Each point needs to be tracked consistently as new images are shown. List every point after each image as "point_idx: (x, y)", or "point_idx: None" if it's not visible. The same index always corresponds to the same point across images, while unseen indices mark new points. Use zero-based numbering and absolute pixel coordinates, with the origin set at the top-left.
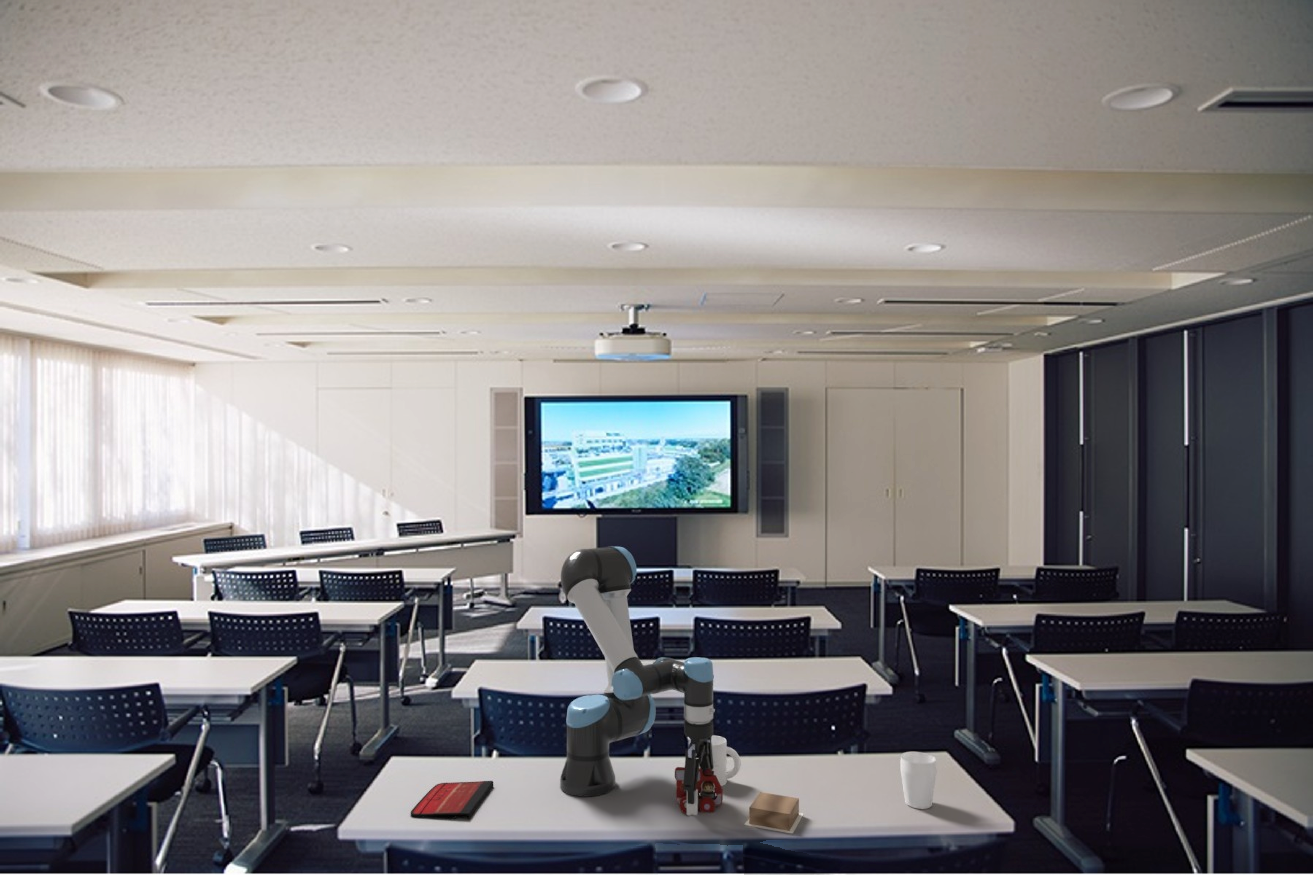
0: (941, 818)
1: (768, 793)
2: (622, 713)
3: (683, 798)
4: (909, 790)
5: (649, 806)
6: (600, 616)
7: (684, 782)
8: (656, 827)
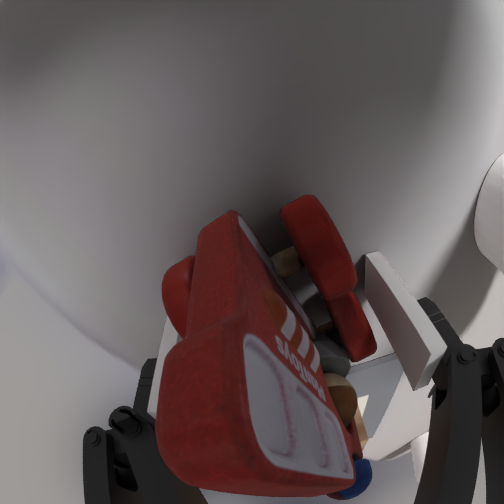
0: (390, 453)
1: (364, 445)
2: None
3: (173, 323)
4: (418, 455)
5: (126, 67)
6: None
7: (87, 467)
8: (22, 257)
